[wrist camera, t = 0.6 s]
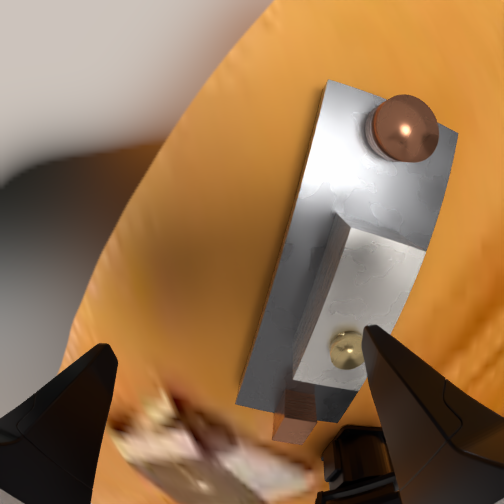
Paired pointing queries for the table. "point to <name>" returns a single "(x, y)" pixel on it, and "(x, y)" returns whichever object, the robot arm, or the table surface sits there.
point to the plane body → (320, 224)
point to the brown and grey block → (352, 300)
